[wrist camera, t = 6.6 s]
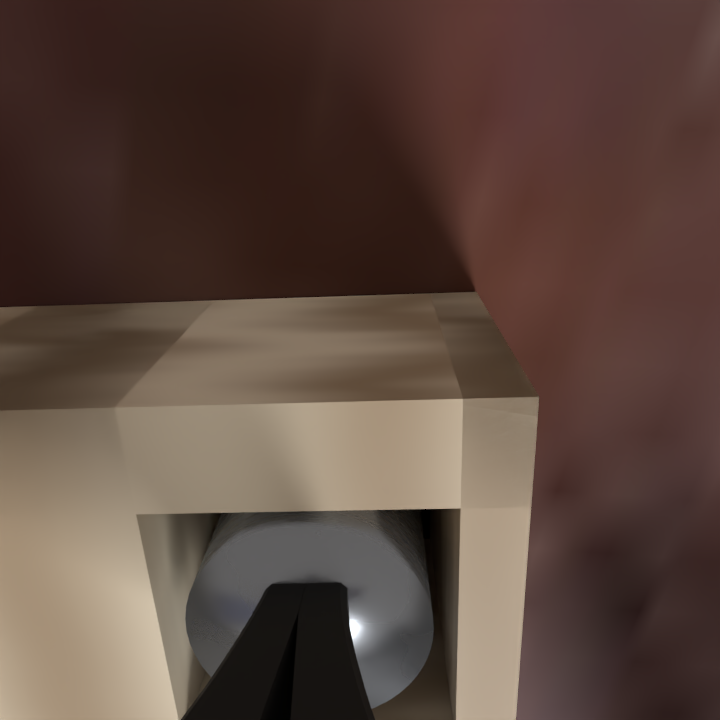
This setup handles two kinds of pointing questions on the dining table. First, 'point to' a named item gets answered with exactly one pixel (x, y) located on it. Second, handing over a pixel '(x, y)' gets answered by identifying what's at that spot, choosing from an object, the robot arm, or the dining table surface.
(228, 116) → the dining table surface
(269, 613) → the robot arm
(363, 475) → the block
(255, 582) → the peg
